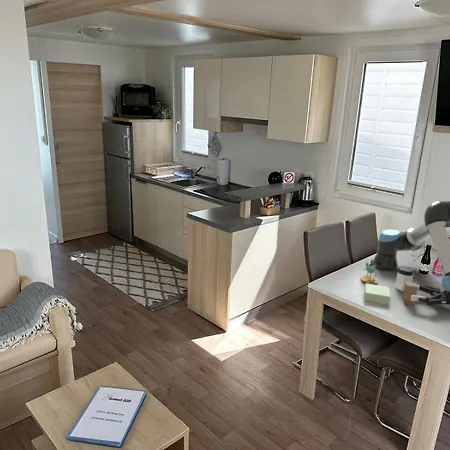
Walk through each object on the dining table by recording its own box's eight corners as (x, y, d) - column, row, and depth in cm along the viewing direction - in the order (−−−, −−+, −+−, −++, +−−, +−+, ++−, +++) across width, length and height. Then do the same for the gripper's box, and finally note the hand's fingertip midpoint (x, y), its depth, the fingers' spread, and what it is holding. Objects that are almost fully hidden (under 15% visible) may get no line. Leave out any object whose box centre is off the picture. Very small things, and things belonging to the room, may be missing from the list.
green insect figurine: (360, 287, 232) (363, 261, 229) (359, 277, 249) (362, 254, 246) (378, 289, 229) (381, 263, 226) (376, 280, 246) (379, 256, 243)
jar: (407, 285, 236) (411, 266, 232) (413, 291, 228) (417, 271, 224) (392, 284, 236) (395, 265, 232) (397, 291, 228) (401, 271, 224)
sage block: (364, 291, 227) (365, 283, 225) (387, 295, 223) (388, 287, 222) (364, 301, 216) (365, 292, 214) (388, 305, 212) (390, 296, 211)
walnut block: (402, 299, 219) (405, 282, 216) (412, 300, 218) (415, 283, 215) (403, 303, 214) (407, 286, 211) (414, 305, 213) (417, 287, 210)
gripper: (458, 316, 199) (411, 309, 204) (444, 293, 223) (403, 288, 227) (462, 302, 197) (414, 295, 201) (447, 280, 220) (405, 275, 225)
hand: (408, 291), depth 214 cm, fingers open, 13 cm apart
